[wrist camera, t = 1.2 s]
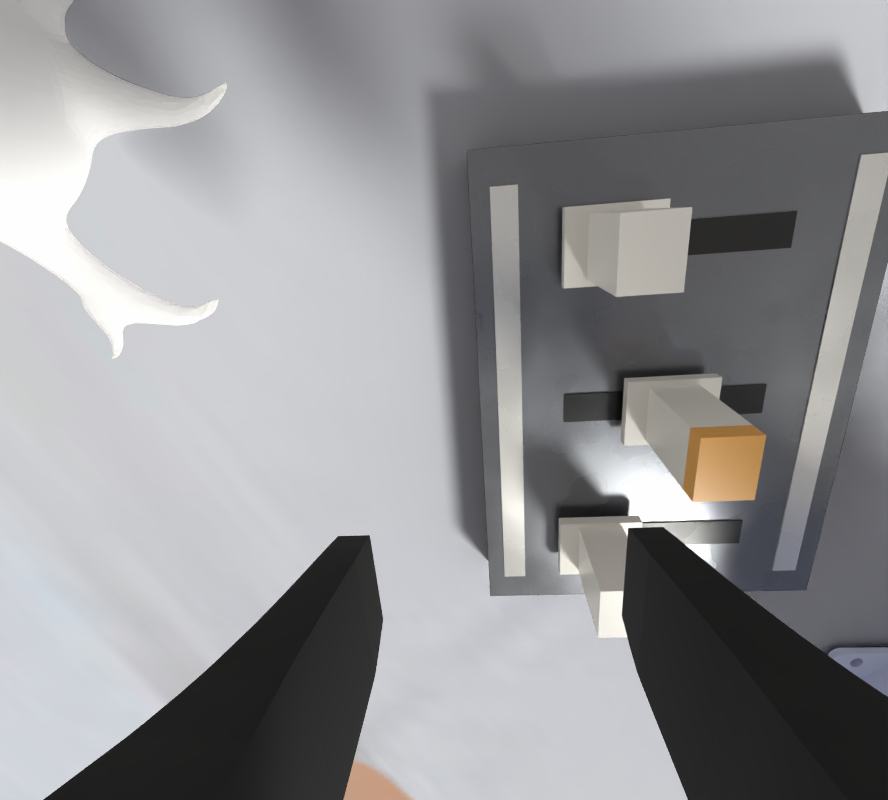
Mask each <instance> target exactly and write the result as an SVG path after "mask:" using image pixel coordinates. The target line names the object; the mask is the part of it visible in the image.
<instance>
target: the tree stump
mask: <svg viewBox="0 0 888 800" xmlns="http://www.w3.org/2000/svg"><path fill="white" fill-rule="evenodd" d="M73 1H74V0H0V241H1V242H3V243H4V244H6V245H8V246H10V247H12V248H13V249H15V250H17V251H19V252H20V253H22V254H24V255H25V256H27V257H29V258H30V259H32V260H34V261H35V262H37V263H38V264H40V265H41V266H43V267H44V268H46V269H47V270H49V271H50V272H52V273H53V274H55V275H56V276H58V277H59V278H61V279H62V280H63V281H65V282H66V283H67V284H69V285H70V286H71V287H72V288H73V289H74V290H75V291H76V292H77V293H78V294H79V295H80V297H81V299H82V303H83V306H84V309H85V310H86V311H87V313H88V314H89V315H90V316H91V317H92V318H93V319H94V320H95V322H96V323H97V324H98V325H99V326H100V327H101V328H102V330H103V331H104V332H105V333H106V334H107V336H108V337H109V339H110V341H111V343H112V350H113V358H116V357H118V356H119V354H120V353H121V350H122V347H123V335H122V331H123V329H124V327H125V326H126V325H129V324H133V323H150V324H168V325H187V324H193V323H196V322H197V321H199V320H201V319H204V318H207V317H208V316H209V315H211V314H212V313H213V312H214V310H215V309H216V307H217V305H218V299H216V300H214V301H209V302H208V303H206V304H204V305H201V306H180V305H177V304H173V303H170V302H168V301H165V300H163V299H161V298H159V297H157V296H155V295H153V294H151V293H149V292H147V291H145V290H143V289H141V288H140V287H138V286H136V285H135V284H133V283H131V282H130V281H128V280H127V279H125V278H123V277H121V276H120V275H118V274H117V273H115V272H114V271H112V270H111V269H110V268H108V267H107V266H105V265H104V264H103V263H101V262H100V261H99V260H98V259H96V258H95V257H94V256H93V255H92V254H90V253H89V252H88V251H87V250H86V249H85V248H84V247H83V246H82V245H81V244H80V243H79V242H78V241H77V240H76V239H75V237H74V236H73V235H72V234H71V232H70V231H69V229H68V226H67V224H66V217H67V213H68V211H69V209H70V208H71V206H72V205H73V204H74V203H75V201H76V200H77V198H78V197H79V195H80V193H81V191H82V189H83V187H84V185H85V183H86V180H87V177H88V174H89V170H90V166H91V160H92V155H93V150H94V148H95V146H96V145H97V143H98V142H99V141H100V140H102V139H104V138H105V137H107V136H110V135H112V134H115V133H120V132H126V131H132V130H139V129H149V128H163V127H174V126H179V125H183V124H187V123H189V122H193V121H196V120H198V119H200V118H202V117H203V116H205V115H206V114H208V113H209V112H210V111H211V110H212V109H213V108H214V107H215V106H216V105H217V104H218V103H219V102H220V100H221V99H222V97H223V95H224V93H225V92H226V87H227V82H226V83H224V84H222V85H220V86H218V87H217V88H215V89H214V90H212V91H210V92H208V93H206V94H203V95H201V96H197V97H190V98H180V97H173V96H168V95H164V94H160V93H158V92H155V91H152V90H148V89H145V88H143V87H140V86H137V85H135V84H132V83H129V82H127V81H124V80H122V79H120V78H118V77H116V76H114V75H112V74H110V73H108V72H106V71H105V70H103V69H101V68H99V67H98V66H96V65H94V64H93V63H91V62H90V61H88V60H87V59H86V58H84V57H83V56H82V55H81V54H80V53H78V52H77V51H76V50H75V49H74V48H73V47H72V46H71V45H70V43H69V41H68V39H67V37H66V33H65V14H66V12H67V10H68V8H69V6H70V5H71V4H72V2H73ZM113 358H112V359H113Z"/></svg>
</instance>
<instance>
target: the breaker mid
mask: <svg viewBox="0 0 888 800" xmlns="http://www.w3.org/2000/svg"><path fill="white" fill-rule="evenodd" d="M721 384H722V377H721V376H720V375H718V374H717V373H711V374H693V375H674V376H655V377H636V378H624V391H623V407H622V423H621V439H620V441H621V442H622V444H623V445H624V446H634V445H649V446H650V447H651V448H652V449H653V451H654V452H655V453H656V455H657V456H658V457H659V459H660V460H661V461H662V463H663V464H664V465H665V467H666V468H667V469H668V470H669V472H670V473H671V474H672V476H673V477H674V478H675V480H676V481H677V482H678V484H679V485H680V486H681V488H682V489H683V490H684V491H685V493H686V494H687V495H688V497H689V498H690V499H691V501H692V502H711V501H742V500H755V495H756V489H757V484H758V479H759V473H760V468H761V462H762V457H763V451H764V446H765V441H766V435H765V434H764V433H763V432H761V431H760V430H759V429H758V428H756V427H755V426H754V425H752V424H751V423H750V422H748V421H747V420H746V419H744V418H743V417H742V416H740V415H739V414H738V413H736V412H735V411H734V410H732V409H731V408H730V407H728V406H727V405H726V404H724V403H723V402H722V401H720V400H719V398H720V391H721Z"/></svg>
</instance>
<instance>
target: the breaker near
mask: <svg viewBox="0 0 888 800" xmlns="http://www.w3.org/2000/svg"><path fill="white" fill-rule="evenodd" d="M670 200H671V198H670V199H657V200H645V201H633V202H620V203H608V204H596V205H584V206H571V207H562V287H563V288H579V287H594V286H598V287H600V288H602V289H603V290H605V291H607V292H608V293H610V294H612V295H614V296H615V297H622V296H637V295H652V294H667V293H682V292H684V285H685V275H686V266H687V256H688V246H689V237H690V227H691V217H692V207H678V208H670Z"/></svg>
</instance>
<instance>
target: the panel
mask: <svg viewBox="0 0 888 800" xmlns="http://www.w3.org/2000/svg"><path fill="white" fill-rule="evenodd" d="M467 164H468V183H469V202H470V221H471V240H472V258H473V277H474V296H475V315H476V334H477V353H478V372H479V391H480V410H481V428H482V447H483V466H484V485H485V504H486V523H487V542H488V561H489V580H490V596H512V595H566V594H585V592H584V588H583V585H582V581H581V578H580V575H579V574H567V575H560V573H559V569H558V540H559V518H575V517H607V516H639V517H640V519H641V521H642V528H643V527H664V528H665V529H667V530H668V531H669V532H670V533H672V534H673V535H674V536H675V537H677V538H678V539H679V540H680V541H681V542H683V543H684V544H685V545H686V546H688V547H689V548H690V549H691V550H692V551H694V552H695V553H696V554H697V555H698V556H700V557H701V558H702V559H703V560H704V561H706V562H707V563H708V564H709V565H711V566H712V567H713V568H714V569H715V570H717V571H718V572H719V573H720V574H722V575H723V576H724V577H725V578H726V579H728V580H729V581H730V582H731V583H733V584H734V585H735V586H736V587H738V588H739V589H740V590H741V591H783V590H806V589H807V584H808V580H809V576H810V572H811V568H812V564H813V560H814V556H815V552H816V548H817V544H818V540H819V536H820V532H821V528H822V524H823V520H824V516H825V512H826V508H827V504H828V500H829V496H830V492H831V488H832V484H833V480H834V476H835V472H836V468H837V464H838V460H839V456H840V452H841V448H842V444H843V440H844V436H845V432H846V428H847V424H848V420H849V416H850V412H851V408H852V404H853V400H854V396H855V392H856V388H857V384H858V380H859V376H860V372H861V368H862V364H863V360H864V356H865V352H866V347H867V343H868V339H869V335H870V331H871V327H872V323H873V319H874V315H875V311H876V307H877V303H878V299H879V295H880V291H881V287H882V283H883V279H884V275H885V271H886V267H887V263H888V111H883V112H872V113H861V114H850V115H840V116H829V117H818V118H807V119H796V120H786V121H775V122H764V123H753V124H742V125H732V126H721V127H710V128H699V129H688V130H678V131H667V132H656V133H645V134H634V135H624V136H613V137H602V138H591V139H580V140H570V141H559V142H548V143H537V144H526V145H516V146H505V147H494V148H483V149H472V150H467ZM670 198H671V200H670V208H678V207H692V217H691V227H690V237H689V246H688V256H687V266H686V275H685V285H684V292H682V293H667V294H652V295H637V296H622V297H615V296H614V295H612V294H610V293H608V292H607V291H605V290H603V289H602V288H600V287H598V286H594V287H579V288H563V287H562V207H571V206H584V205H596V204H608V203H620V202H633V201H645V200H657V199H670ZM711 373H717V374H718V375H720V376H721V377H722V384H721V391H720V398H719V400H720V401H722V402H723V403H724V404H726V405H727V406H728V407H730V408H731V409H732V410H734V411H735V412H736V413H738V414H739V415H740V416H742V417H743V418H744V419H746V420H747V421H748V422H750V423H751V424H752V425H754V426H755V427H756V428H758V429H759V430H760V431H761V432H763V433H764V434H765V435H766V441H765V446H764V451H763V457H762V462H761V468H760V473H759V479H758V484H757V489H756V495H755V500H742V501H711V502H692V501H691V499H690V498H689V497H688V495H687V494H686V493H685V491H684V490H683V489H682V488H681V486H680V485H679V484H678V482H677V481H676V480H675V478H674V477H673V476H672V474H671V473H670V472H669V470H668V469H667V468H666V467H665V465H664V464H663V463H662V461H661V460H660V459H659V457H658V456H657V455H656V453H655V452H654V451H653V449H652V448H651V447H650V446H649V445H634V446H624V445H623V444H622V442H621V441H620V439H621V423H622V407H623V391H624V378H636V377H655V376H674V375H693V374H711Z"/></svg>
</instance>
